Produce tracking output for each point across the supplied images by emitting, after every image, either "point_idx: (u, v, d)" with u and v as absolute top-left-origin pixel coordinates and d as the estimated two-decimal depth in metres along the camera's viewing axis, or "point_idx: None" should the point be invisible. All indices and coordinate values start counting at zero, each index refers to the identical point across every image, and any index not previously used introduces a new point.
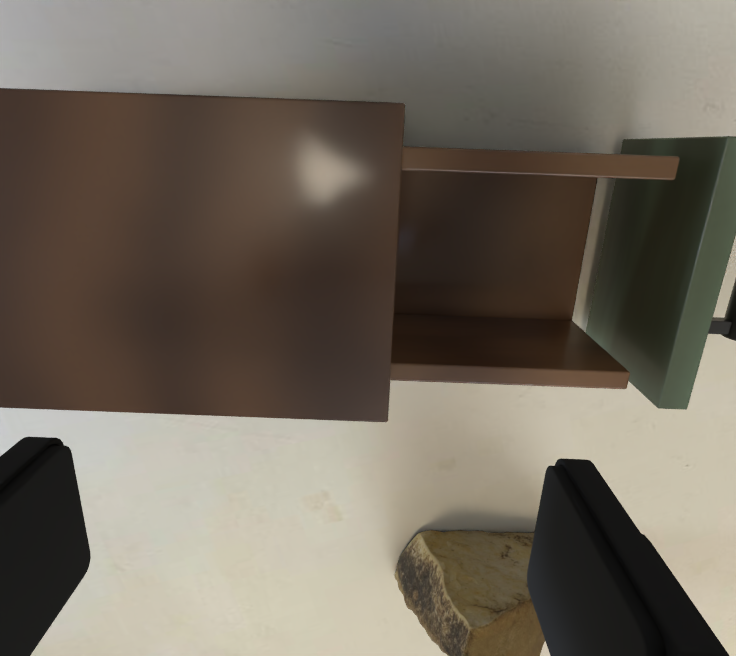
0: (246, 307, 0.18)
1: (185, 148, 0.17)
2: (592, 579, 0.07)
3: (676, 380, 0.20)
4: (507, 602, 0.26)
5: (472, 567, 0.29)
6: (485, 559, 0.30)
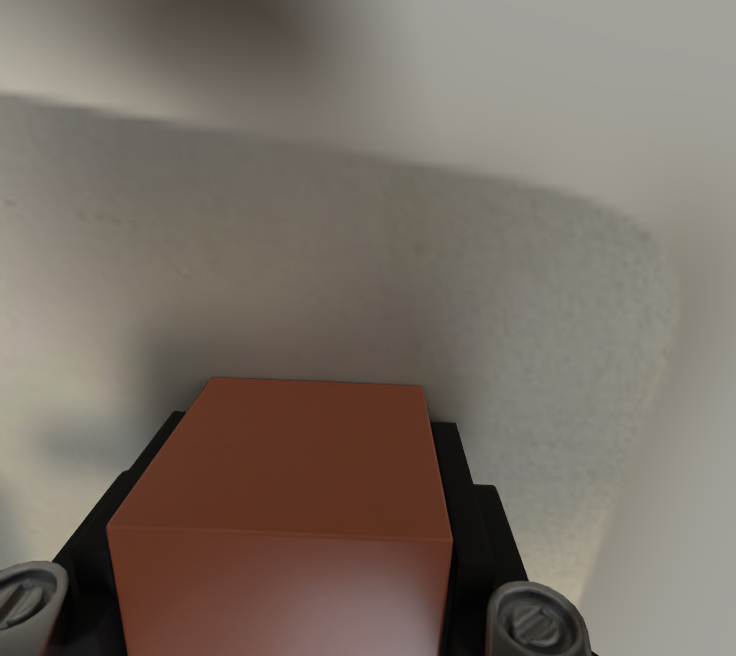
0: None
1: None
2: None
3: None
4: None
5: None
6: None
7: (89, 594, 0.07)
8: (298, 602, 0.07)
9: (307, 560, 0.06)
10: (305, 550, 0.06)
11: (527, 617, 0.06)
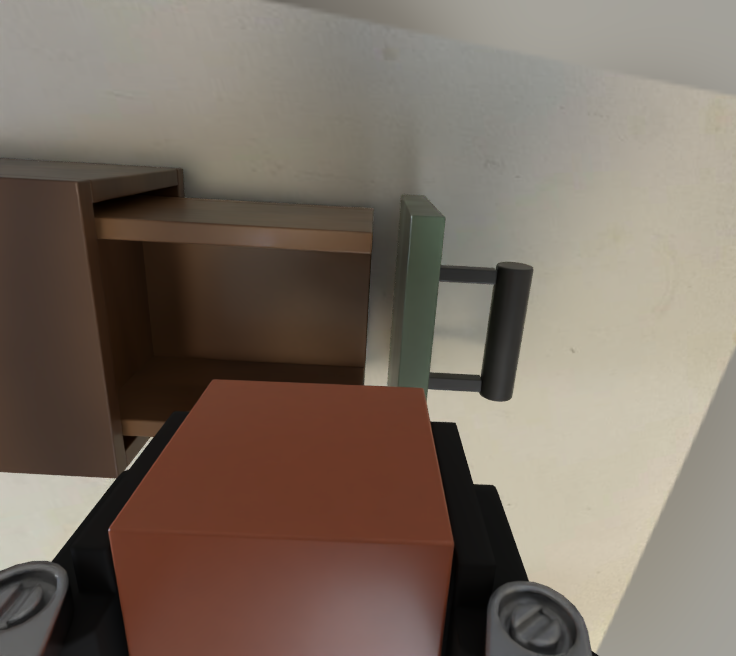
0: None
1: None
2: None
3: None
4: None
5: None
6: None
7: (89, 594, 0.07)
8: (300, 604, 0.07)
9: (308, 563, 0.07)
10: (307, 552, 0.06)
11: (527, 617, 0.06)
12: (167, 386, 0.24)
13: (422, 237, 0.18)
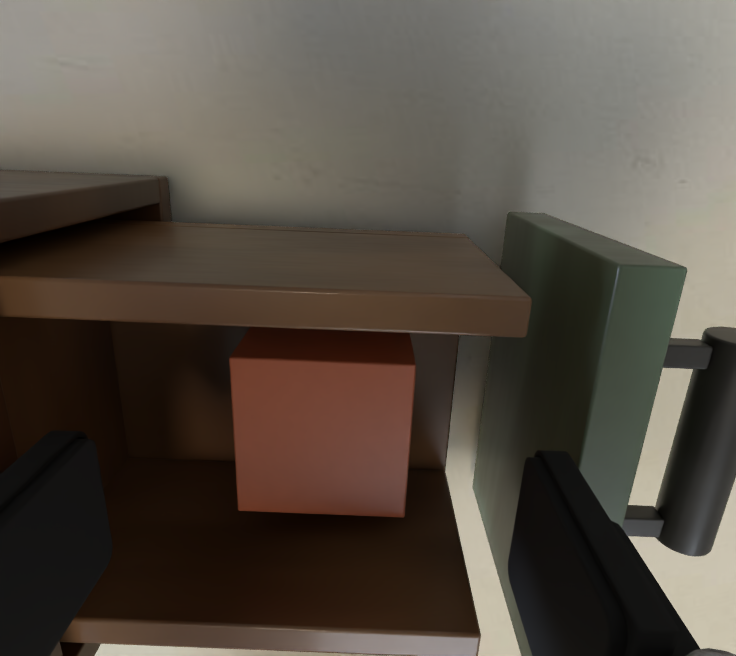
0: None
1: None
2: (563, 564, 0.08)
3: None
4: None
5: None
6: None
7: None
8: (332, 404, 0.12)
9: (337, 377, 0.12)
10: (336, 370, 0.12)
11: None
12: (145, 526, 0.15)
13: (636, 307, 0.09)
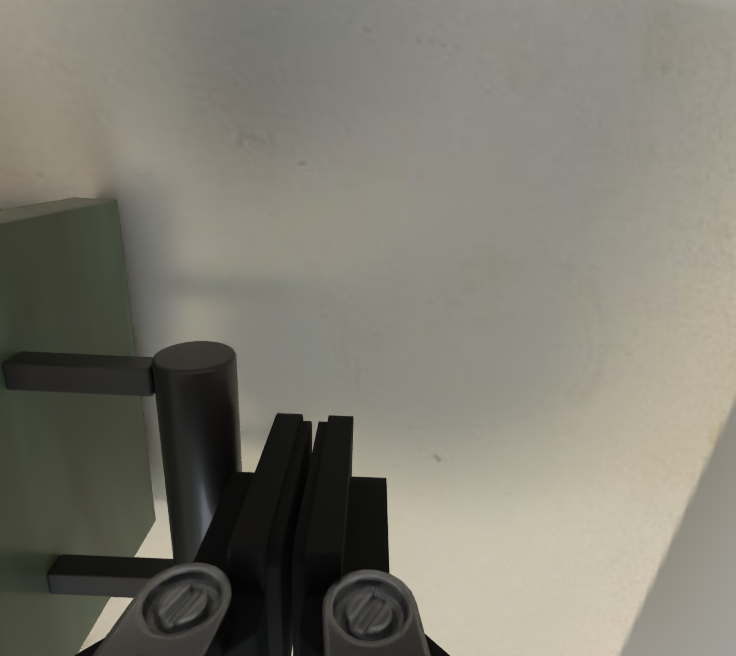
0: None
1: None
2: None
3: None
4: None
5: None
6: None
7: (241, 595, 0.07)
8: None
9: None
10: None
11: (364, 605, 0.07)
12: None
13: None
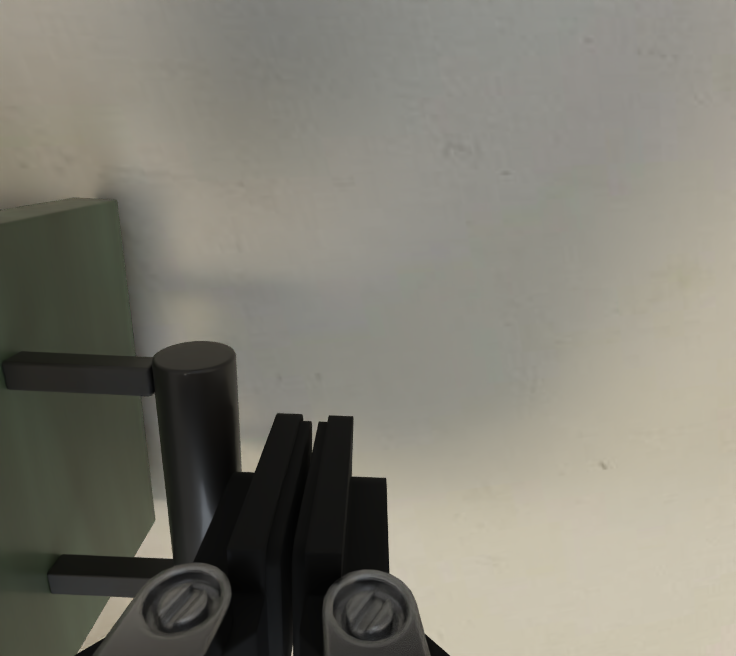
0: None
1: None
2: None
3: None
4: None
5: None
6: None
7: (241, 595, 0.07)
8: None
9: None
10: None
11: (364, 605, 0.07)
12: None
13: None
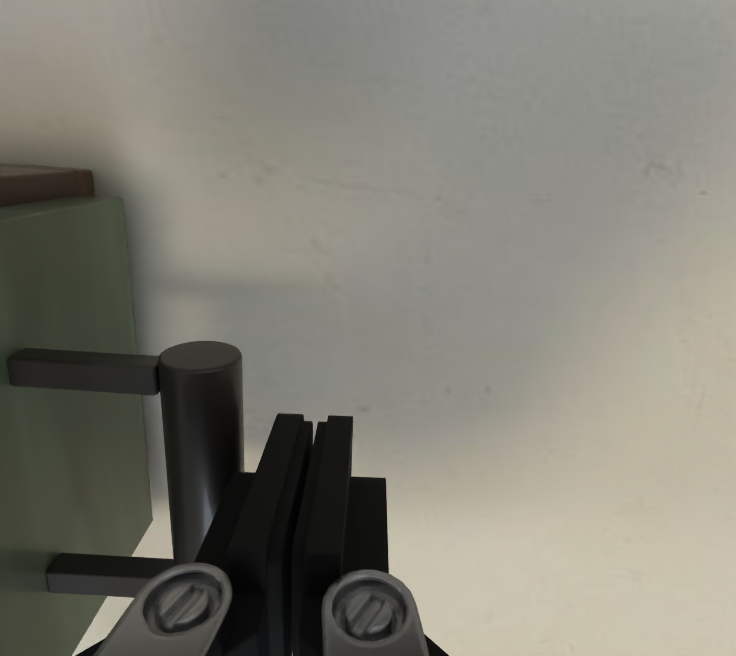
0: None
1: None
2: None
3: None
4: None
5: None
6: None
7: (242, 596, 0.07)
8: None
9: None
10: None
11: (363, 605, 0.07)
12: None
13: None
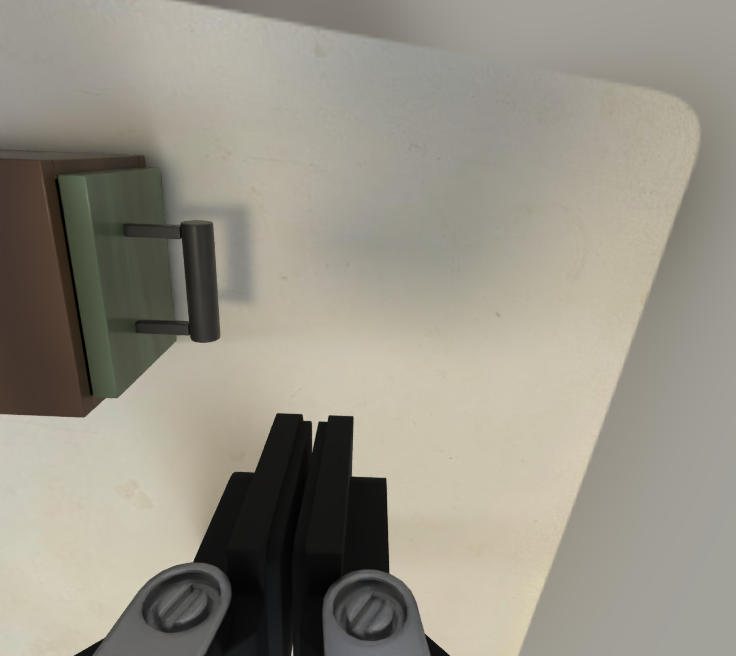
0: None
1: None
2: None
3: (98, 373, 0.24)
4: None
5: None
6: None
7: (241, 595, 0.07)
8: None
9: None
10: None
11: (364, 605, 0.07)
12: None
13: (70, 193, 0.21)
